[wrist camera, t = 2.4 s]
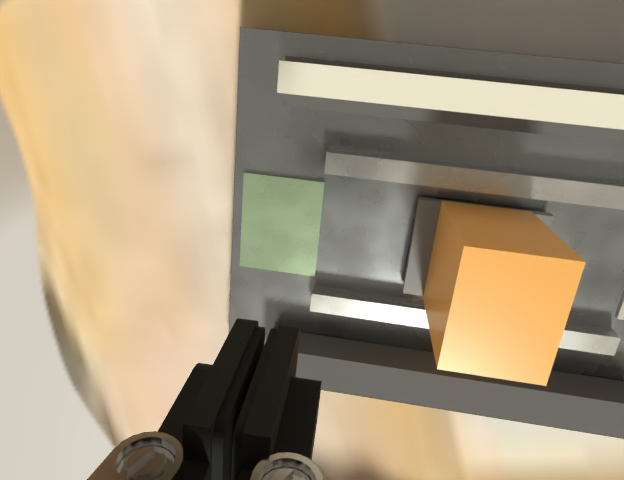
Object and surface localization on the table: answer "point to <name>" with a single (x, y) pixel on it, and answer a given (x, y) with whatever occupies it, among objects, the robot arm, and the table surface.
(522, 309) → the toggle
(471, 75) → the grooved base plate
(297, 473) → the robot arm
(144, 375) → the table surface
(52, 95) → the table surface
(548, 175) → the panel
